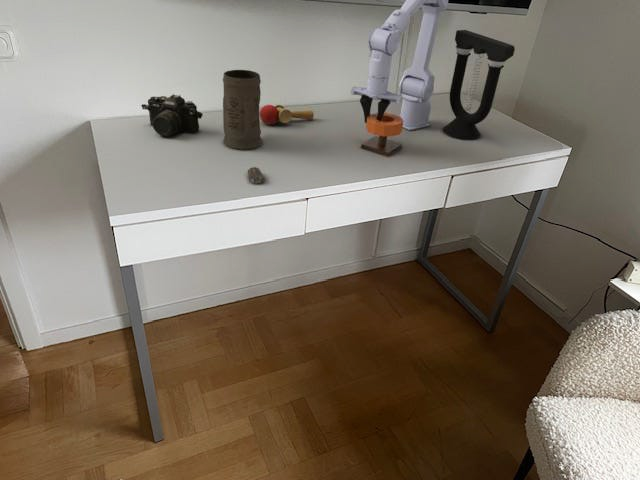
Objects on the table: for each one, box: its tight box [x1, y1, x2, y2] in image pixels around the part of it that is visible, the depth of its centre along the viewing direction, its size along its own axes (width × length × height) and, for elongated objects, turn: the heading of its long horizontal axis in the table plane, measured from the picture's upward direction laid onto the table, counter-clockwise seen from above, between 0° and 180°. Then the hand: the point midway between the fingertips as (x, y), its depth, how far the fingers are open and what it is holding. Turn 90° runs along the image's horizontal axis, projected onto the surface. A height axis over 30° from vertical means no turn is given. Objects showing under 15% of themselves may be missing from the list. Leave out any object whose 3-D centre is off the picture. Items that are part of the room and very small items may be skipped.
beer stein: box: [222, 69, 262, 151], centre depth 139 cm, size 15×11×20 cm
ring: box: [365, 112, 404, 137], centre depth 144 cm, size 10×10×3 cm
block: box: [247, 166, 265, 185], centre depth 124 cm, size 4×6×2 cm, turn 21°
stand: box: [360, 135, 403, 157], centre depth 146 cm, size 9×9×6 cm
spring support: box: [442, 29, 516, 141], centre depth 154 cm, size 21×12×30 cm, turn 29°
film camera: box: [140, 93, 203, 138], centre depth 143 cm, size 18×12×10 cm
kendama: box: [259, 104, 314, 126], centre depth 158 cm, size 8×6×18 cm
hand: (372, 123), depth 145 cm, fingers closed on ring, 3 cm apart
